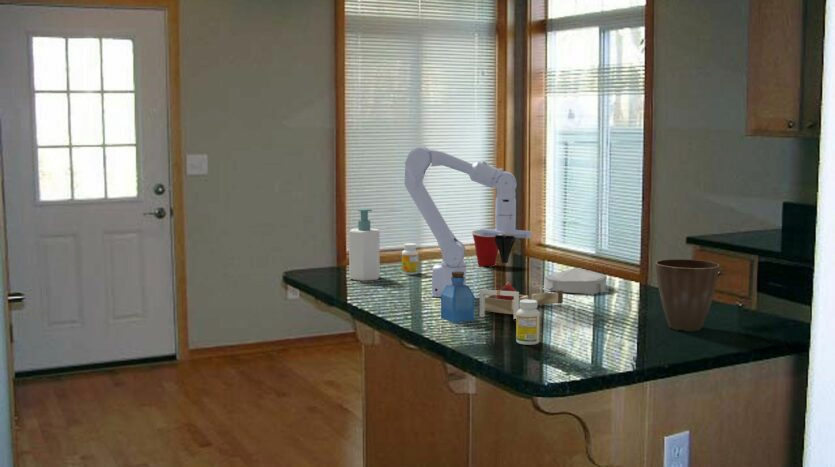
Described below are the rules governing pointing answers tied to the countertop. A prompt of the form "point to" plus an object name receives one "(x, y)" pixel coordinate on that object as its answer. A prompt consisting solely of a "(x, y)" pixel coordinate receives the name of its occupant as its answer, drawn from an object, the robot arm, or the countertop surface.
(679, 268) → the plant pot
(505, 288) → the onion
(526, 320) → the supplement bottle
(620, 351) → the countertop surface
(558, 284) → the food container
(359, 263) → the soap bottle
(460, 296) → the perfume bottle
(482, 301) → the white goalpost frame
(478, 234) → the plastic cup
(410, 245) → the supplement bottle
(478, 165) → the robot arm
